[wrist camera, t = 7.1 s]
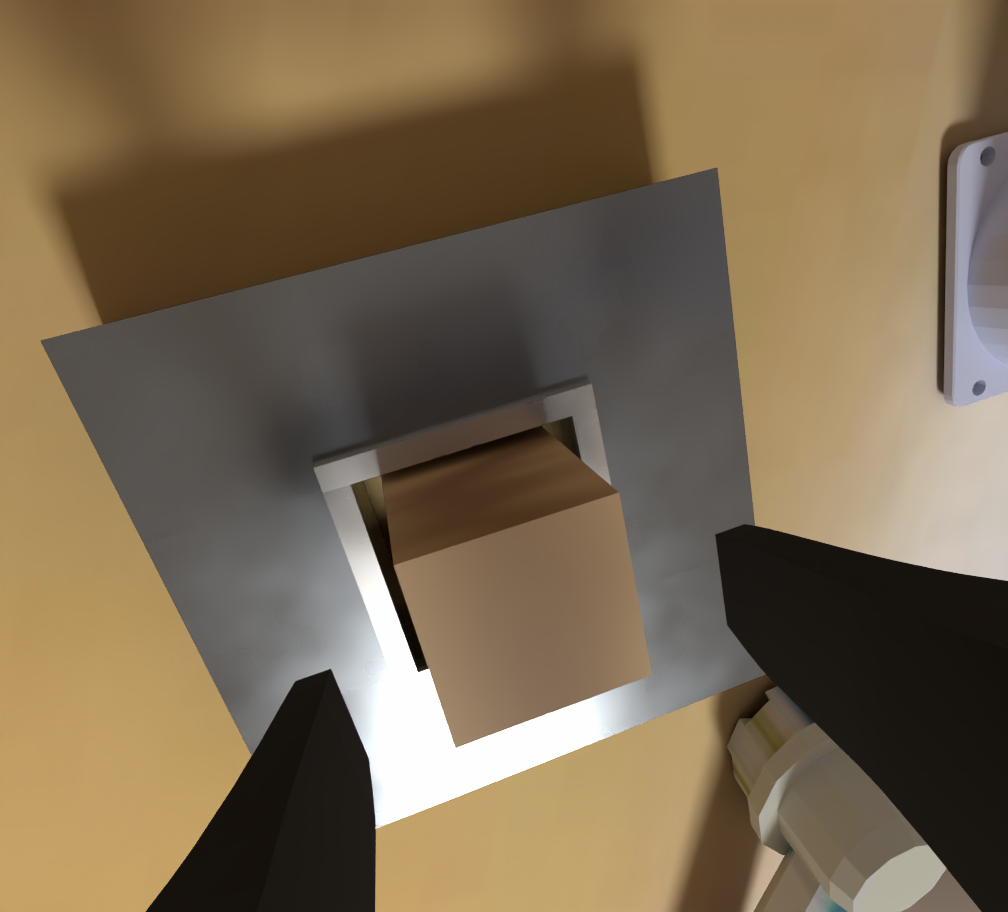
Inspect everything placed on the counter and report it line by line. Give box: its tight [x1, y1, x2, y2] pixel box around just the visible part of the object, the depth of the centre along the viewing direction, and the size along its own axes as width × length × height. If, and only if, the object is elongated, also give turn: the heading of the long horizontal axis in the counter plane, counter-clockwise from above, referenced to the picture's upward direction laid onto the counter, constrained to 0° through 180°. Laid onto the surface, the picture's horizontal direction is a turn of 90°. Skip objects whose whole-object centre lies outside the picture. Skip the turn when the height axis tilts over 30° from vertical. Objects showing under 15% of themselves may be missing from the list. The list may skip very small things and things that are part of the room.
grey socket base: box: [41, 168, 766, 828], centre depth 16 cm, size 14×14×3 cm
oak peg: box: [381, 426, 652, 748], centre depth 14 cm, size 4×4×7 cm
